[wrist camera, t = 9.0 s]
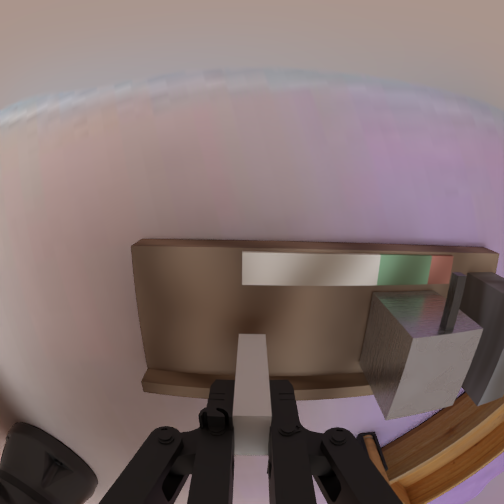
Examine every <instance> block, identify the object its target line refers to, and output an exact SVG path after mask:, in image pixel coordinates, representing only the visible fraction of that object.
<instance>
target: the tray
mask: <svg viewBox="0 0 504 504" xmlns="http://www.w3.org/2000/svg"><path fill="white" fill-rule="evenodd" d="M381 450H382V453H383V456H384V458H385V461H386V464H387V467H388V470H387V471H386V474H387V477H388V480H389V483H390V485H391V488H392V489H393V491H394V492H395V493H396V495H397V496H398V497H399V499H400V500H401V501H402V503H403V504H427V503H428V502H430V501H432V500H434V499H436V498H437V497H439V496H441V495H442V494H444V493H446V492H447V491H449V490H451V489H452V488H454V487H455V486H457V485H459V484H460V483H462V482H463V481H465V480H466V479H468V478H469V477H471V476H472V475H473V474H475V473H476V472H478V471H479V470H480V469H482V468H483V467H485V466H486V465H487V464H489V463H490V462H491V461H492V460H494V459H495V458H496V457H498V456H499V455H500V454H501V453H502V452H504V395H503V397H501V398H499V399H496V400H494V401H491V402H488V403H486V404H483V405H480V406H476V404H475V403H474V402H473V401H472V399H471V398H470V397H469V395H468V394H467V393H466V392H465V393H464V394H463V395H462V396H460V397H459V398H458V399H456V400H455V401H454V403H453V405H452V406H448V407H446V408H444V409H443V410H441V411H440V412H439V413H437V414H436V415H434V416H433V417H431V418H430V419H428V420H427V421H425V422H424V423H422V424H421V425H419V426H418V427H416V428H415V429H413V430H411V431H410V432H408V433H406V434H405V435H403V436H401V437H400V438H398V439H396V440H395V441H393V442H391V443H389V444H388V445H386V446H384V447H382V448H381Z"/></svg>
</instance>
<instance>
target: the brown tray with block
mask: <svg viewBox="0 0 504 504" xmlns="http://www.w3.org/2000/svg"><path fill="white" fill-rule="evenodd" d="M131 252H132V264H133V274H134V283H135V291H136V300H137V307H138V314H139V321H140V328H141V334H142V340H143V346H144V351H145V357H146V362H147V367H148V369H147V371H146V373H145V375H144V377H143V379H142V381H141V382H142V387H143V391H144V392H149V393H156V394H164V395H172V396H181V397H192V398H204V399H208V398H209V392H210V387H211V385H212V383H213V382H214V381H215V380H216V379H220V380H235V376H236V364H237V351H238V338H239V334H266V347H267V360H268V373H269V380H289V382H290V383H291V384H292V385H293V388H294V394H295V400H296V401H297V400H319V399H334V398H346V397H357V396H366V395H374V394H373V392H372V390H371V388H370V386H369V384H368V381H367V379H366V377H365V375H364V373H363V371H362V369H361V367H360V365H359V361H360V357H361V352H362V347H363V343H364V338H365V333H366V328H367V323H368V317H369V312H370V306H371V300H372V294H373V292H401V291H429V290H435V291H436V292H437V293H439V294H440V295H441V296H443V297H444V298H445V299H447V294H448V290H449V285H450V280H451V275H452V272H461V273H463V274H464V275H466V276H467V277H466V282H465V287H464V291H463V296H462V300H461V304H460V308H459V309H460V310H461V311H462V312H463V313H465V314H466V315H467V316H468V317H470V318H471V319H472V320H473V321H475V322H476V323H477V324H478V325H480V326H481V327H482V328H483V331H482V334H481V337H480V340H479V343H478V346H477V349H476V351H475V354H474V357H473V359H472V362H471V365H470V367H469V370H468V372H467V374H466V377H465V379H464V382H463V384H462V386H461V387H462V388H463V389H464V390H465V392H466V393H467V394H468V395H469V397H470V398H471V399H472V401H473V402H474V403H475V404H476V406H480V405H483V404H486V403H488V402H491V401H494V400H496V399H499V398H501V397H503V395H504V278H502V277H501V276H499V275H497V274H495V273H496V268H497V263H498V258H499V253H496V252H494V251H492V250H489V249H487V248H484V247H460V246H434V245H405V244H374V243H338V242H298V241H249V240H183V239H141V240H140V241H138V242H137V243H135V244H133V245H132V246H131Z"/></svg>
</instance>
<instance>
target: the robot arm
mask: <svg viewBox="0 0 504 504" xmlns="http://www.w3.org/2000/svg"><path fill="white" fill-rule="evenodd" d="M198 416H199V423H200V427H199V428H198V429H195V430H193V431H189V432H182V433H180V432H179V431H178V430H177V429H175V428H173V427H168V426H165V427H159V428H157V429H155V430H154V431H153V432H151V434H150V435H149V436H148V438H147V439H146V441H145V442H144V443H143V445H142V446H141V447H140V449H139V450H138V452H137V453H136V454H135V456H134V457H133V458H132V460H131V461H130V462H129V464H128V465H127V466H126V468H125V469H124V470H123V472H122V473H121V474H120V476H119V477H118V479H117V480H116V481H115V483H114V484H113V485H112V487H111V488H110V489H109V490H108V492H107V493H106V494H105V496H104V497H103V498H102V500H101V501H100V502H99V504H174V502H175V500H176V498H177V497H178V495H179V493H180V491H181V489H182V487H183V486H184V484H185V482H186V480H187V478H188V476H189V474H192V478H191V484H190V490H189V496H188V502H187V504H232V500H233V480H234V455H268V456H269V460H268V470H267V474H268V476H269V500H270V504H317V503H316V497H315V491H314V485H313V479H312V475H313V477H314V479H315V481H316V482H317V484H318V486H319V488H320V490H321V492H322V494H323V496H324V498H325V499H326V501H327V503H328V504H403V503H402V501H401V500H400V499H399V497H398V496H397V495H396V493H395V492H394V491H393V489H392V488H391V487H390V485H389V484H388V482H387V481H386V480H385V478H384V477H383V476H382V474H381V473H380V472H379V470H378V469H377V467H376V466H375V465H374V463H373V462H372V461H371V459H370V458H369V456H368V455H367V454H366V452H365V451H364V449H363V448H362V447H361V445H360V444H359V442H358V441H357V440H356V438H355V437H354V435H353V434H352V433H351V432H350V431H349V430H346V429H344V428H338V427H337V428H331V429H329V430H327V431H326V432H325V433H324V434H323V433H317V432H312V431H309V430H307V429H305V428H304V427H303V426H302V425H301V424H300V421H299V416H298V410H297V405H296V400H295V394H294V388H293V385H292V384H291V383H290V382H289V380H269V373H268V360H267V347H266V334H239V338H238V351H237V364H236V376H235V380H220V379H216V380H215V381H214V382H213V383H212V385H211V387H210V392H209V398H208V403H207V407H206V408H204V409H203V410H201V411H200V413H199V415H198ZM97 484H98V481H97V478H96V476H95V474H94V473H93V472H92V470H91V469H90V468H89V467H88V466H87V465H86V464H85V463H84V462H83V461H82V460H81V459H80V458H79V457H78V456H77V455H76V454H75V453H73V452H72V451H71V450H70V449H68V448H67V447H66V446H64V445H63V444H62V443H60V442H59V441H57V440H56V439H54V438H53V437H51V436H50V435H48V434H47V433H45V432H43V431H41V430H39V429H38V428H36V427H33V426H31V425H28V424H25V423H16V424H14V425H13V427H12V428H11V429H10V431H9V432H8V434H7V437H6V444H5V447H4V450H3V453H2V457H1V462H0V504H84V503H85V502H86V501H87V500H88V499H89V498H90V497H91V496H92V495H93V494H94V491H95V489H96V487H97Z"/></svg>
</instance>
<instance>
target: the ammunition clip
mask: <svg viewBox="0 0 504 504" xmlns="http://www.w3.org/2000/svg"><path fill="white" fill-rule="evenodd" d="M356 440H357V441H358V442H359V444H360V445H361V447H362V448H363V449H364V451H365V452H366V454H367V455H368V456H369V458H370V459H371V461H372V462H373V463H374V465H375V466H376V467H377V469H378V470H379V472H380V473H381V474H382V476H383V477H384V478H385V480H386V481H387V482H388V484H389V485H390V483H389V480H388V477H387V474H386V471H387V470H388V467H387V464H386V461H385V458H384V456H383V453H382V450H381V447H380V445H379V442H378V439H377V436H376V434H375V432H374V433H365V434H358V436H357V438H356ZM390 487H391V485H390Z"/></svg>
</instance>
